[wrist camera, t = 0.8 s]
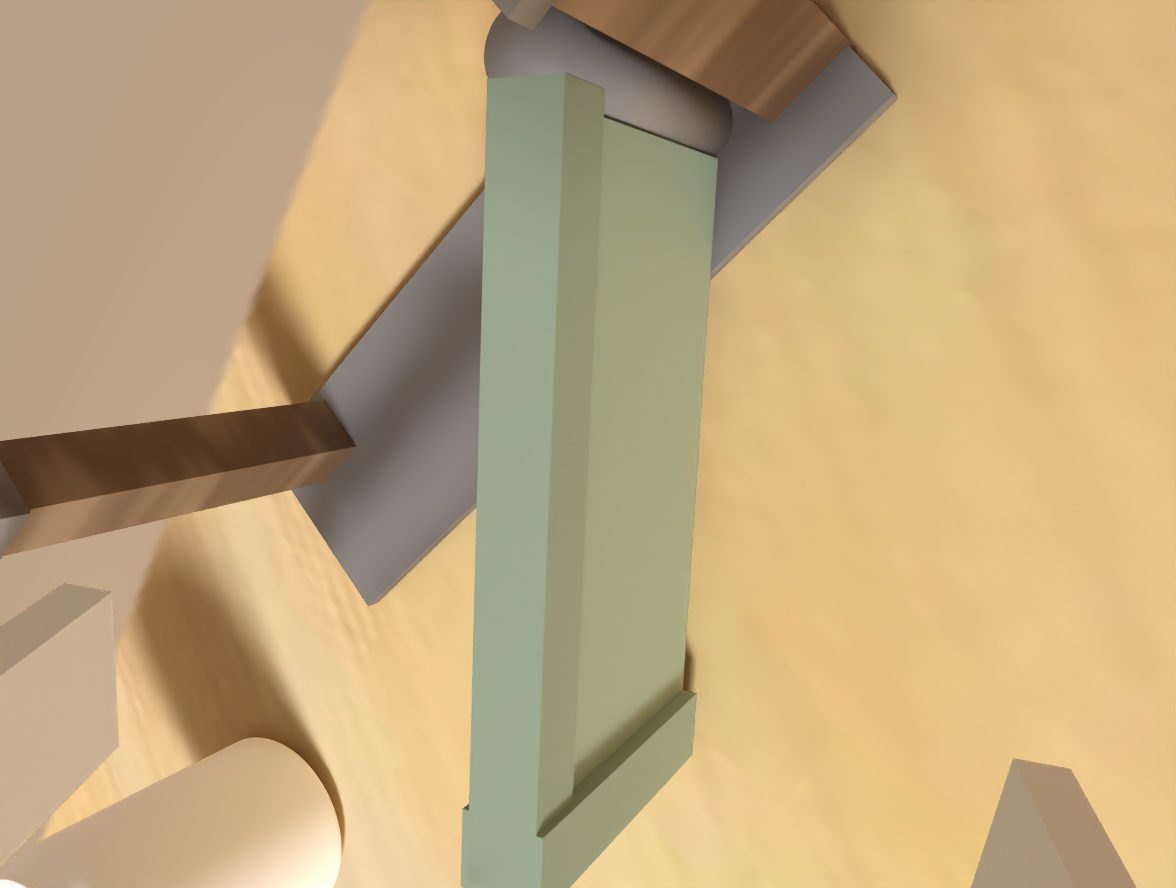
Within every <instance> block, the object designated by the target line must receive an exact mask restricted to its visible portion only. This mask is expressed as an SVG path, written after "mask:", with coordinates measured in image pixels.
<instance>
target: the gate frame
mask: <svg viewBox="0 0 1176 888" xmlns="http://www.w3.org/2000/svg"><path fill="white" fill-rule="evenodd" d="M493 2H494V3H495V4H496V5H497V6H498V8H499V9H500V10H501V11H502V12H503V14H504V15H505V16H506V17H507V18H508V19H510V20H512V21H514V22H516V23H518V24H520V25H522V26H524V27H527V28H529V29H531V30H534V28H535V27H536V26H537V24H538V23H539V22H540V20H541V19H542V18H543V17H544V15H545V14H546V13H547V11H548V10H549V9H550V7H551V6H553V7H555V8H557V9H559V10H561V11H563V12H565V13H567V14H569V15H570V16H572V17H574V18H576V19H578V20H580V21H582V22H584V23H586V24H587V25H589V26H591V27H593V28H595V29H597V30H599V31H601V32H603V33H604V34H606V35H608V36H610V37H612V38H614V39H616V40H618V41H620V42H621V43H623V44H625V45H627V46H629V47H631V48H633V49H635V50H637V51H638V52H640V53H642V54H644V55H646V56H648V57H650V58H652V59H654V60H655V61H657V62H659V63H661V64H663V65H665V66H667V67H669V68H670V69H672V70H674V71H676V72H678V73H680V74H682V75H684V76H686V77H687V78H689V79H691V80H693V81H695V82H697V83H699V84H701V85H703V86H704V87H706V88H708V89H710V90H712V91H714V92H716V93H718V94H720V95H721V96H723V97H725V99H726V100H727V102H728V103H729V105H730V108H731V111H732V116H733V126H732V132H731V135H730V138H729V140H728V142H727V144H726V145H725V147H724V148H723V149H722V150H721V151H720V152H719V153H718V154H717V155H716V156H715V157H714V158H717V159H718V166H717V181H716V196H715V211H714V226H713V241H712V256H711V271H710V280H711V279H712V278H713V277H714V276H715V275H716V274H717V273H718V272H719V271H720V270H721V269H722V268H723V267H724V266H725V265H726V264H727V263H728V262H729V261H730V260H731V259H732V258H734V257H735V256H736V255H737V254H738V253H739V252H740V251H741V250H742V249H743V248H744V247H745V246H746V245H747V244H748V243H749V242H750V241H751V240H752V239H753V238H754V237H755V236H756V235H757V234H758V233H759V232H760V231H761V230H762V229H763V228H764V227H765V226H767V225H768V224H769V223H770V222H771V221H772V220H773V219H774V218H775V217H776V216H777V215H778V214H779V213H780V212H781V211H782V210H783V209H784V208H785V207H786V206H787V205H788V204H789V203H790V202H791V201H792V200H793V199H794V198H795V197H796V196H797V195H798V194H800V193H801V192H802V191H803V190H804V189H805V188H806V187H807V186H808V185H809V184H810V183H811V182H812V181H813V180H814V179H815V178H816V177H817V176H818V175H819V174H820V173H821V172H822V171H823V170H824V169H825V168H826V167H827V166H828V165H829V164H830V163H831V162H833V161H834V160H835V159H836V158H837V157H838V156H839V155H840V154H841V153H842V152H843V151H844V150H845V149H846V148H847V147H848V146H849V145H850V144H851V143H852V142H853V141H854V140H855V139H856V138H857V137H858V136H859V135H860V134H861V133H862V132H863V131H864V130H866V129H867V128H868V127H869V126H870V125H871V124H872V123H873V122H874V121H875V120H876V119H877V118H878V117H879V116H880V115H881V114H882V113H883V112H884V111H885V110H886V109H887V108H888V107H889V106H890V105H891V104H892V103H893V102H894V101H895V100H896V99H897V97H896V96H895V94H894V93H893V92H892V91H891V90H890V89H889V88H888V87H887V86H886V85H885V84H884V83H883V82H882V80H881V79H880V78H879V77H878V76H877V75H876V74H875V73H874V72H873V71H872V70H871V69H870V68H869V66H868V65H867V64H866V63H865V62H864V61H863V60H862V59H861V58H860V57H859V56H858V55H857V54H856V52H855V51H854V50H853V49H854V48H855V46H854V45H853V44H852V43H851V41H850V40H849V39H848V38H847V37H846V36H845V35H844V34H843V33H842V32H841V31H840V30H839V29H838V27H837V26H836V25H835V24H834V23H833V22H832V21H831V20H830V19H829V18H828V17H827V16H826V15H825V14H824V12H823V11H822V10H821V9H820V8H819V7H818V6H817V5H816V4H815V3H814V2H813V1H812V0H493ZM484 193H485V189H484V190H483V191H482V192H481V194H480V195H479V196H478V197H477V198H476V200H475V201H474V202H473V203H472V204H471V206H470V207H469V208H468V209H467V211H466V212H465V213H464V214H463V215H462V217H461V218H460V219H459V220H458V222H457V223H456V224H455V225H454V226H453V228H452V229H451V230H450V231H449V233H448V234H447V235H446V236H445V237H444V239H443V240H442V241H441V242H440V243H439V245H438V246H437V247H436V248H435V250H434V251H433V252H432V253H431V254H430V256H429V257H428V258H427V259H426V261H425V262H424V263H423V264H422V265H421V267H420V268H419V269H418V270H417V271H416V273H415V274H414V275H413V276H412V278H411V279H410V280H409V281H408V282H407V284H406V285H405V286H404V287H403V289H402V290H401V291H400V292H399V293H398V295H397V296H396V297H395V298H394V300H393V301H392V302H391V303H390V304H389V306H388V307H387V308H386V309H385V310H384V312H383V313H382V314H381V315H380V317H379V318H378V319H377V320H376V321H375V323H374V324H373V325H372V326H371V328H370V329H369V330H368V331H367V332H366V334H365V335H364V336H363V337H362V338H361V340H360V341H359V342H358V343H357V345H356V346H355V347H354V348H353V349H352V351H351V352H350V353H349V354H348V356H347V357H346V358H345V359H344V360H343V362H342V363H341V364H340V365H339V366H338V368H337V369H336V370H335V371H334V373H333V374H332V375H331V376H330V377H329V379H328V380H327V381H326V382H325V384H324V385H323V386H322V387H321V388H320V390H319V391H318V392H317V393H316V395H315V396H314V397H313V398H312V399H311V401H310V402H308V403H300V404H292V405H284V406H276V407H268V408H260V409H252V410H244V411H236V412H228V413H220V414H212V415H204V416H196V417H188V418H180V419H172V420H165V421H157V422H149V423H141V424H134V425H125V426H117V427H109V428H102V429H93V430H85V431H77V432H69V433H62V434H53V435H45V436H37V437H30V438H21V439H14V440H5V441H0V559H1V558H2V556H5V555H9V554H13V553H18V552H22V551H27V550H31V549H35V548H40V547H44V546H49V545H53V544H57V543H62V542H66V541H70V540H75V539H79V538H83V537H87V536H92V535H96V534H101V533H105V532H110V531H114V530H118V529H122V528H127V527H131V526H136V525H140V524H144V523H148V522H153V521H157V520H162V519H166V518H170V517H175V516H179V515H184V514H188V513H192V512H197V511H201V510H205V509H210V508H214V507H218V506H223V505H227V504H231V503H236V502H240V501H245V500H249V499H253V498H258V497H262V496H266V495H271V494H275V493H279V492H284V491H288V490H292V491H293V493H294V494H295V496H296V497H297V499H298V501H299V502H300V504H301V505H302V507H303V508H304V510H305V511H306V513H307V514H308V516H309V517H310V519H311V520H312V522H313V523H314V525H315V526H316V528H317V529H318V531H319V532H320V534H321V535H322V537H323V538H324V540H325V541H326V543H327V545H328V546H329V548H330V549H331V551H332V552H333V554H334V555H335V557H336V558H337V560H338V561H339V563H340V564H341V566H342V567H343V569H344V570H345V572H346V573H347V575H348V576H349V578H350V579H351V581H352V582H353V584H354V585H355V587H356V589H357V590H358V592H359V593H360V595H361V596H362V598H363V599H364V601H365V602H366V604H367V605H368V606H370V605H372V604H375V603H377V602H379V601H380V600H381V599H382V598H383V597H384V596H385V595H386V594H387V593H388V592H389V591H390V590H391V589H392V588H393V587H394V586H395V585H396V584H397V583H398V582H399V581H400V580H401V579H402V578H404V577H405V576H406V575H407V574H408V573H409V572H410V571H411V570H412V569H413V568H414V567H415V566H416V565H417V564H418V563H419V562H420V561H421V560H422V559H423V558H424V557H425V556H426V555H427V554H428V553H429V552H430V551H431V550H432V549H433V548H434V547H435V546H437V545H438V544H439V543H440V542H441V541H442V540H443V539H444V538H445V537H446V536H447V535H448V534H449V533H450V532H451V531H452V530H453V529H454V528H455V527H456V526H457V525H458V524H459V523H460V522H461V521H462V520H463V519H464V518H465V517H466V516H467V515H468V514H470V513H471V512H472V511H473V510H474V509H475V508H476V507H477V474H478V434H479V394H480V354H481V314H482V273H483V233H484Z"/></svg>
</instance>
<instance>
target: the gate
mask: <svg viewBox="0 0 1176 888" xmlns="http://www.w3.org/2000/svg"><path fill="white" fill-rule="evenodd" d="M484 63H485V70H486V74H487V77H488V79H487V113H486V153H485V193H484V233H483V273H482V314H481V354H480V394H479V434H478V474H477V514H476V554H475V594H474V634H473V674H472V715H471V755H470V795H469V804H468V805H467V806H466V807H464V808H463V817H462V859H461V887H463V888H570V887H571V885H572V884H573V883H574V882H575V881H576V880H577V879H578V878H579V877H580V876H581V875H582V874H583V872H584V871H585V870H586V869H587V868H588V867H589V866H590V865H591V864H592V863H593V862H594V861H595V859H596V858H597V857H598V856H599V855H600V854H601V853H602V852H603V851H604V850H605V849H606V848H607V846H608V845H609V844H610V843H611V842H612V841H613V840H614V839H615V838H616V837H617V836H618V835H619V833H620V832H621V831H622V830H623V829H624V828H625V827H626V826H627V825H628V824H629V823H630V822H631V820H632V819H633V818H634V817H635V816H636V815H637V814H638V813H639V812H640V811H641V810H642V809H643V807H644V806H645V805H646V804H647V803H648V802H649V801H650V800H651V799H652V798H653V797H654V796H655V794H656V793H657V792H658V791H659V790H660V789H661V788H662V787H663V786H664V785H665V784H666V783H667V781H668V780H669V779H670V778H671V777H672V776H673V775H674V774H675V773H676V772H677V771H678V770H679V768H680V767H681V766H682V765H683V764H684V763H685V762H686V761H687V760H688V759H689V758H690V757H691V755H692V753H693V738H694V724H695V709H696V695H697V693H693V692H690V691H686V690H683V678H684V663H685V648H686V633H687V618H688V603H689V588H690V573H691V558H692V543H693V528H694V513H695V497H696V482H697V467H698V452H699V437H700V422H701V407H702V392H703V377H704V362H705V347H706V332H707V316H708V301H709V286H710V271H711V256H712V241H713V226H714V211H715V196H716V181H717V166H718V159H717V158H714V157H715V156H716V155H717V154H718V153H719V152H720V151H721V150H722V149H723V148H724V147H725V145H726V144H727V142H728V140H729V138H730V135H731V132H732V126H733V116H732V111H731V108H730V105H729V103H728V102H727V100H726V99H725V97H723V96H721V95H720V94H718V93H716V92H714V91H712V90H710V89H708V88H706V87H704V86H703V85H701V84H699V83H697V82H695V81H693V80H691V79H689V78H687V77H686V76H684V75H682V74H680V73H678V72H676V71H674V70H672V69H670V68H669V67H667V66H665V65H663V64H661V63H659V62H657V61H655V60H654V59H652V58H650V57H648V56H646V55H644V54H642V53H640V52H638V51H637V50H635V49H633V48H631V47H629V46H627V45H625V44H623V43H621V42H620V41H618V40H616V39H614V38H612V37H610V36H608V35H606V34H604V33H603V32H601V31H599V30H597V29H595V28H593V27H591V26H589V25H587V24H586V23H584V22H582V21H580V20H578V19H576V18H574V17H572V16H570V15H569V14H567V13H565V12H563V11H561V10H559V9H557V8H555V7H553V6H551V7H550V9H549V10H548V11H547V13H546V14H545V15H544V17H543V18H542V19H541V20H540V22H539V23H538V24H537V26H536V27H535V28H534V30H531V29H529V28H527V27H524V26H522V25H520V24H518V23H516V22H514V21H512V20H510V19H508V18H507V17H506V16H505V15H504V14H503V12H502V11H501V13H500V14H499V15H498V16H497V18H496V19H495V21H494V22H493V24H492V26H491V28H490V30H489V33H488V36H487V39H486V44H485V51H484Z"/></svg>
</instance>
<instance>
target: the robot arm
mask: <svg viewBox="0 0 1176 888" xmlns="http://www.w3.org/2000/svg"><path fill="white" fill-rule="evenodd" d="M112 603H113V602H112V592H109V591H104V590H98V589H93V588H88V587H82V586H77V585H71V584H66V583H63V584H62V585H60V586H59V587H58V588H56V589H55V590H53V591H52V592H50V593H49V594H47V595H46V596H44V597H43V598H41V599H40V600H39V601H37V602H36V603H34V604H33V605H31V606H30V607H28V608H27V609H25V610H24V611H22V612H21V613H19V614H18V615H17V616H15V617H14V618H12V619H11V620H9V621H8V622H6V623H5V624H3V625H2V626H0V867H1V866H2V865H3V864H4V863H5V862H6V861H7V860H8V859H9V857H11V855H13V854H14V853H15V852H16V850H18V848H20V846H21V845H22V844H23V843H24V842H25V841H26V840H27V839H28V838H29V837H30V836H31V835H32V834H33V833H34V832H35V831H36V830H37V829H38V828H39V827H40V826H41V825H42V824H43V823H44V822H45V821H46V820H47V819H48V818H49V817H50V816H51V815H52V814H53V813H54V812H55V811H56V810H57V809H58V808H59V807H60V806H61V805H62V804H63V803H64V802H65V801H66V800H67V799H68V798H69V797H70V796H71V795H72V794H73V793H74V792H75V791H76V790H77V789H78V788H79V787H80V785H81V784H82V783H83V782H84V781H85V780H86V779H87V778H88V777H89V776H90V775H91V774H92V773H93V772H94V771H95V770H96V769H97V768H98V767H99V766H100V765H101V764H102V763H103V762H104V761H105V760H106V759H107V758H108V757H109V756H110V755H111V754H112V753H113V752H114V751H115V750H116V749H117V748H118V747H119V738H118V715H117V692H116V669H115V647H114V624H113V604H112ZM971 888H1136V886H1135V884H1134V882H1133V880H1132V879H1131V877H1130V875H1129V873H1128V871H1127V870H1126V868H1125V866H1124V864H1123V862H1122V861H1121V859H1120V857H1119V855H1118V853H1117V852H1116V850H1115V848H1114V846H1113V844H1112V843H1111V841H1110V839H1109V837H1108V835H1107V834H1106V832H1105V830H1104V828H1103V826H1102V825H1101V823H1100V821H1099V819H1098V817H1097V816H1096V814H1095V812H1094V810H1093V808H1092V807H1091V805H1090V803H1089V801H1088V799H1087V798H1086V796H1085V794H1084V792H1083V790H1082V789H1081V787H1080V785H1079V783H1078V781H1077V780H1076V778H1075V776H1074V774H1073V772H1072V770H1071V769H1068V768H1063V767H1057V766H1052V765H1046V764H1041V763H1036V762H1030V761H1025V760H1019V759H1014V758H1013V761H1012V764H1011V767H1010V770H1009V773H1008V776H1007V779H1006V782H1005V785H1004V788H1003V791H1002V794H1001V797H1000V800H999V803H998V807H997V810H996V813H995V816H994V819H993V822H992V825H991V828H990V831H989V834H988V837H987V840H986V843H985V846H984V849H983V852H982V855H981V859H980V862H979V865H978V868H977V871H976V874H975V877H974V880H973V883H972V886H971Z"/></svg>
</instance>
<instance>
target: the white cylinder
mask: <svg viewBox="0 0 1176 888" xmlns="http://www.w3.org/2000/svg"><path fill="white" fill-rule="evenodd" d="M341 854H342V845H341V834H340V828H339V823H338V819H337V816H336V813H335V810H334V807H333V804H332V802H331V799H330V797H329V795H328V793H327V791H326V789H325V787H324V786H323V784H322V782H321V781H320V779H319V778H318V776H317V775H316V774H315V772H314V771H313V770H312V768H311V767H310V766H309V765H308V764H307V763H306V762H305V761H304V760H303V759H302V758H301V757H300V756H299V755H298V754H296V753H295V752H294V751H292V750H291V749H290V748H288V747H286V746H285V745H283V744H281V743H279V742H276V741H274V740H271V739H267V738H260V737H253V738H246V739H243V740H240V741H238V742H236V743H234V744H232V745H230V746H228V747H226V748H224V749H222V750H220V751H218V752H216V753H214V754H212V755H210V756H208V757H206V758H204V759H202V760H200V761H198V762H196V763H194V764H192V765H190V766H188V767H186V768H184V769H182V770H180V771H178V772H176V773H174V774H172V775H170V776H168V777H166V778H164V779H162V780H160V781H158V782H156V783H154V784H152V785H150V786H148V787H146V788H145V789H143V790H141V791H139V792H137V793H135V794H133V795H131V796H129V797H127V798H125V799H123V800H121V801H119V802H117V803H115V804H113V805H111V806H109V807H107V808H105V809H103V810H101V811H99V812H97V813H95V814H93V815H91V816H89V817H87V818H85V819H83V820H81V821H79V822H77V823H75V824H73V825H71V826H69V827H67V828H65V829H63V830H61V831H59V832H57V833H55V834H53V835H51V836H49V837H47V838H45V839H43V840H41V841H39V842H37V843H35V844H33V845H32V846H30V847H28V848H26V849H24V850H23V851H21V852H20V853H19V854H17V855H16V856H15V857H14V858H13V859H12V860H11V861H10V862H9V864H8V865H7V866H6V867H5V869H4V870H3V872H2V873H1V875H0V888H332V887H333V886H334V884H335V881H336V879H337V876H338V873H339V869H340V864H341Z"/></svg>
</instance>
